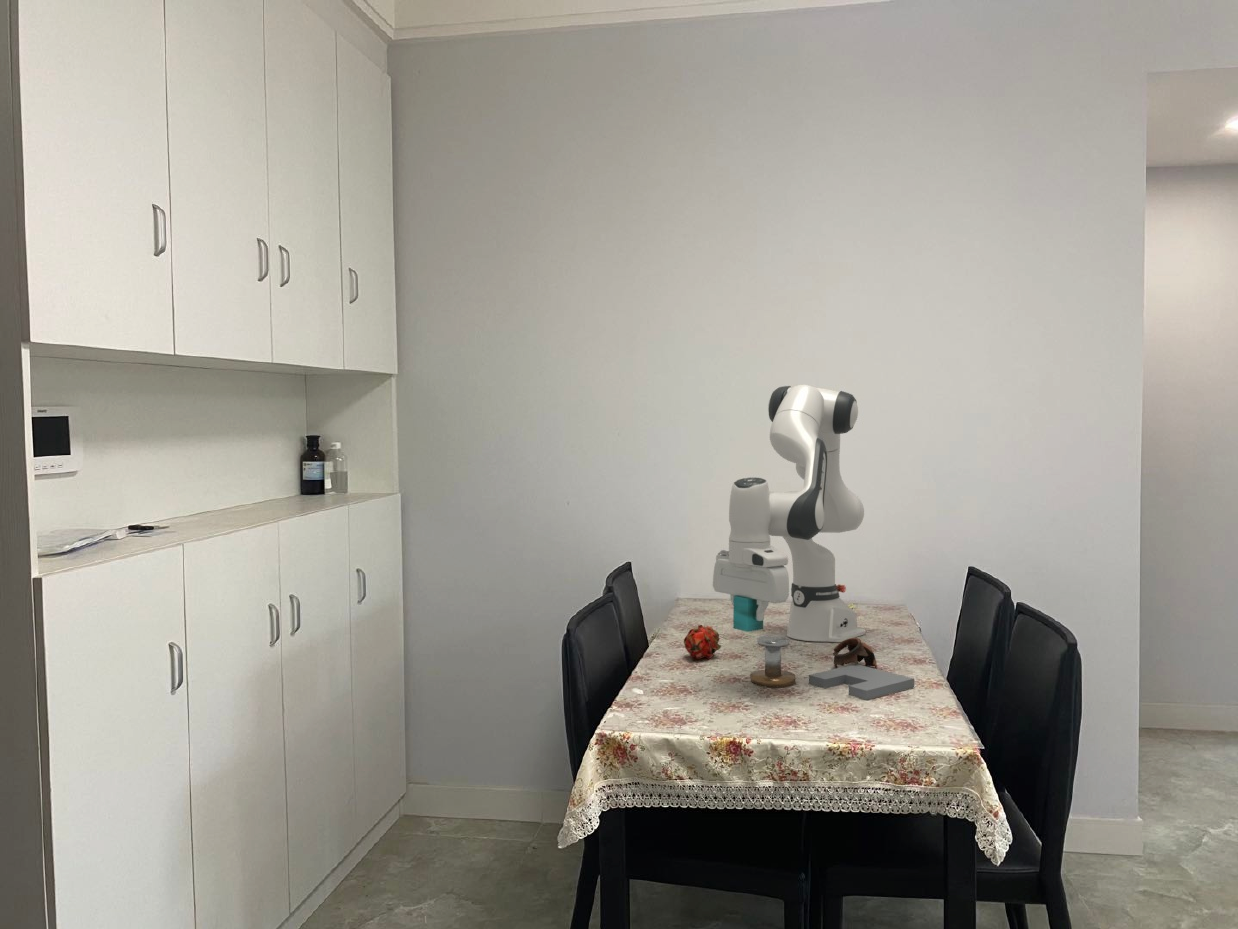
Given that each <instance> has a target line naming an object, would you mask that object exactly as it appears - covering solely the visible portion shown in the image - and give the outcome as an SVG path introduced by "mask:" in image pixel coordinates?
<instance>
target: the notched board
mask: <svg viewBox="0 0 1238 929" xmlns="http://www.w3.org/2000/svg"><path fill="white" fill-rule="evenodd" d="M874 668H875V667H874ZM874 668H873V667H871V666H865V665H862V664H859V663H858V664H857V663H855V664H851V665H848V666H842V667H837V668H833V669H829V670H824V671H820V672H815V673H811V674H808V685H811V686H815V687H818V688H823V689H827V688H832V687H837V686H840V685H848V696H850V697H854V698H858V699H862V700H864V701H869V700H872V699H875V698H879V697H884V696H887V695H892V694H895V693H900V692H904V691H906V690H910V689H914V688H915V678H914V677H909V676H905V675H901V674H897V673H893V672H889V671H886V670H882V669H874Z"/></svg>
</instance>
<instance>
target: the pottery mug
mask: <svg viewBox="0 0 1238 929" xmlns="http://www.w3.org/2000/svg"><path fill="white" fill-rule="evenodd" d="M845 648H847V650H848V652H845V653H840V652H841V651H843V650H844V649H845ZM832 655H833V665H834V667H835V668H834V669H837V668H838V666H842V667H844V666H845V665H849V664H852V663H855V664H858V665H859V663H861V662H862V661H863V660H864V666H866V667H874V669H878V665H877V660H876V657H875V656H876V655H875V654H874V652H873V649H872V648H871V647H870V646H869V645H868V644H867V643H865V642H862V641H861V639H860V638H858V637H855V638H850V639H847V640H844V641H842V642H838V644H837V645H836V646H835V647H834V648H833V652H832ZM878 670H879V669H878Z"/></svg>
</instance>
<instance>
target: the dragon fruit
mask: <svg viewBox="0 0 1238 929" xmlns="http://www.w3.org/2000/svg"><path fill="white" fill-rule="evenodd" d="M720 639H721V638H720V634H719V632H718V631H716V630H714V628H713V626H704V625H702V624H698V626H697V628H695V627H694V628H691V629H690V630H689V631H688V632H687V634H686V636H685V637H684V639H683V644H684V647H685V649H686V652H688V654H690V658H691V660H692V661H695V660H696V661H698V660H701V659H702V658H706V659H708V660H710V659H712V658H713V657H714V656H715V653H716V652H717V651H719V650H721V648H722V646H721V645H720V644H719V642H720Z"/></svg>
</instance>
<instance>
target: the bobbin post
mask: <svg viewBox="0 0 1238 929" xmlns="http://www.w3.org/2000/svg"><path fill="white" fill-rule="evenodd" d="M756 643H757V645H758V646H761V647H764V669H757V670H754V671H752V672H751V673H750V674H749V675H750V678H749V680H750V683H751V684H753V685H755V686H759V687H762V688H771V689H772V688H773V689H778V688H779V689H781V688H788V687H792V686H794V685H796V683H797V680H796V679H797V676H796V674H795V673H793V672H791V671H788V670H785V669H784V670H783V669H782V648H786V647H789V646H790V639H789V637H785V636H784V637H783V636H779V635H766V636H764V635H763V636H759V637H757V640H756Z"/></svg>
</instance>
